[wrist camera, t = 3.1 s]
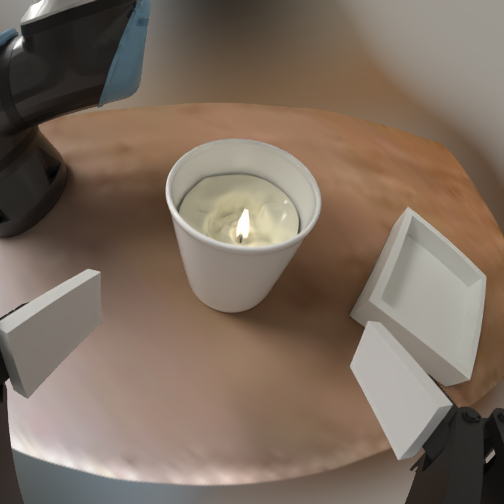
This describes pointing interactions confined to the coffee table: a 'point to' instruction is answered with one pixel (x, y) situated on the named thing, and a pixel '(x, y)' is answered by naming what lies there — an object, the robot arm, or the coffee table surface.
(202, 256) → the candle holder
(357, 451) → the coffee table surface
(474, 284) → the lipped tray
